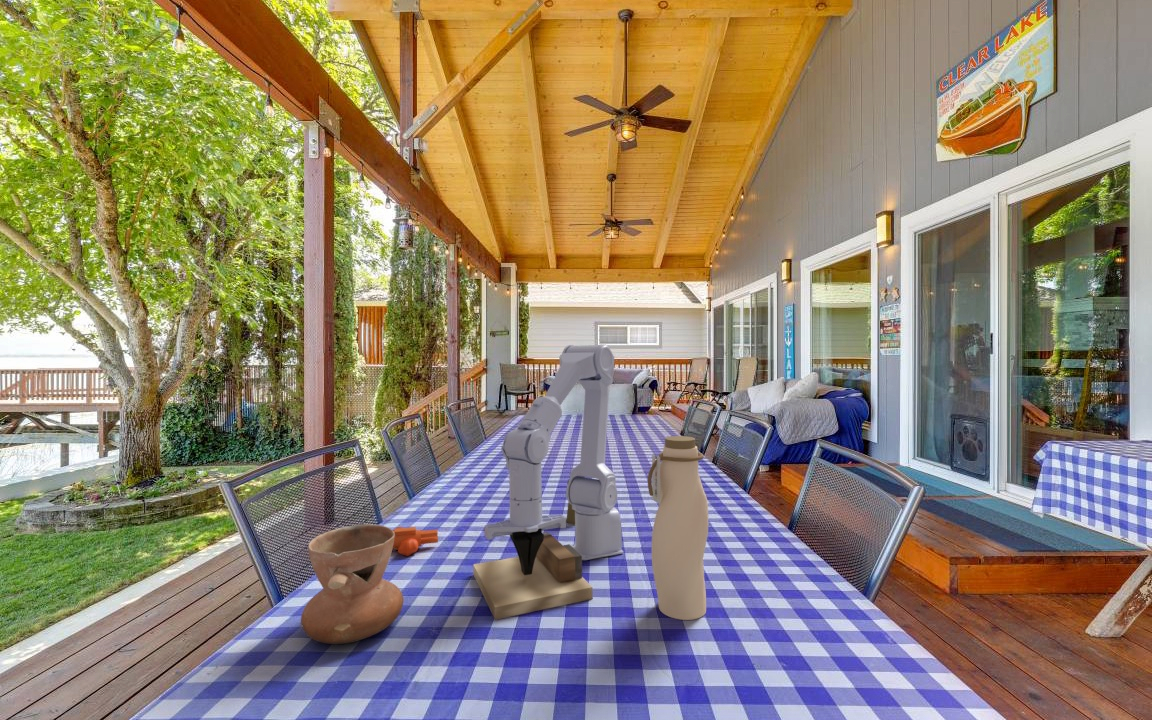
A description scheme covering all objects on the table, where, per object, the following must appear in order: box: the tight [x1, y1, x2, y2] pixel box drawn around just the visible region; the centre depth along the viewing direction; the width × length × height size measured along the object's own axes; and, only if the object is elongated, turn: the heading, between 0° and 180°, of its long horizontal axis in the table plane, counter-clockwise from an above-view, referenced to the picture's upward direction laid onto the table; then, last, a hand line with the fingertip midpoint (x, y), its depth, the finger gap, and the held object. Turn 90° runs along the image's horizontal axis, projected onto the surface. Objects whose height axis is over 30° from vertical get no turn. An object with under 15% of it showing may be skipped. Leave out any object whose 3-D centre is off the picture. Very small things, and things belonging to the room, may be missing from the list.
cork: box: [566, 479, 575, 525], centre depth 128 cm, size 6×6×11 cm
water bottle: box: [647, 435, 709, 621], centre depth 82 cm, size 10×9×28 cm
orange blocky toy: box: [392, 526, 439, 557], centre depth 109 cm, size 5×8×12 cm
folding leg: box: [536, 532, 575, 582], centre depth 95 cm, size 14×3×4 cm, turn 24°
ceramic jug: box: [300, 523, 404, 645], centre depth 79 cm, size 18×14×14 cm
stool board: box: [472, 544, 594, 621], centre depth 91 cm, size 17×18×6 cm
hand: (526, 572), depth 90 cm, fingers closed
